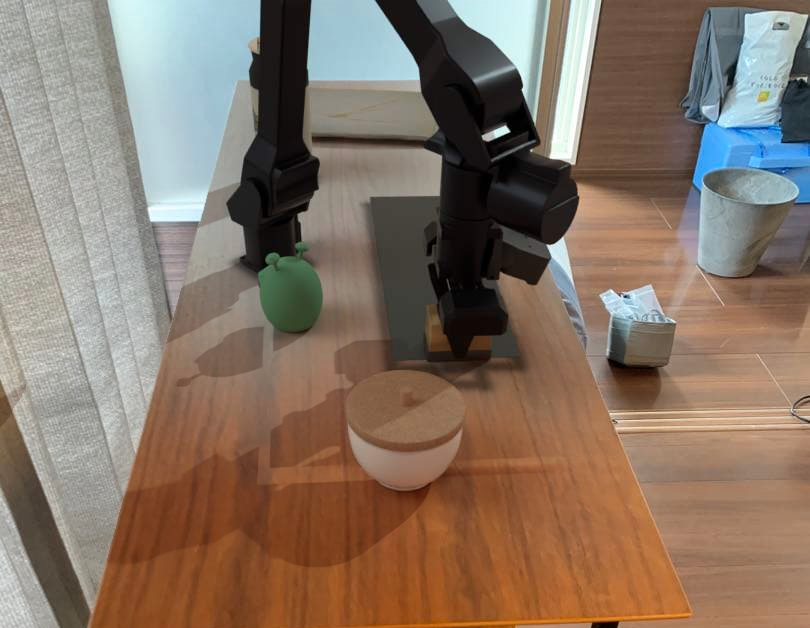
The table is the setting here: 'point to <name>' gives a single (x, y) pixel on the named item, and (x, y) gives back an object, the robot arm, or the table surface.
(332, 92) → the decorative slab
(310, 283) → the alien toy
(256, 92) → the travel mug
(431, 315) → the eraser
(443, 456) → the trinket box
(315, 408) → the table surface
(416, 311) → the board
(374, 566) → the table surface
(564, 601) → the table surface
